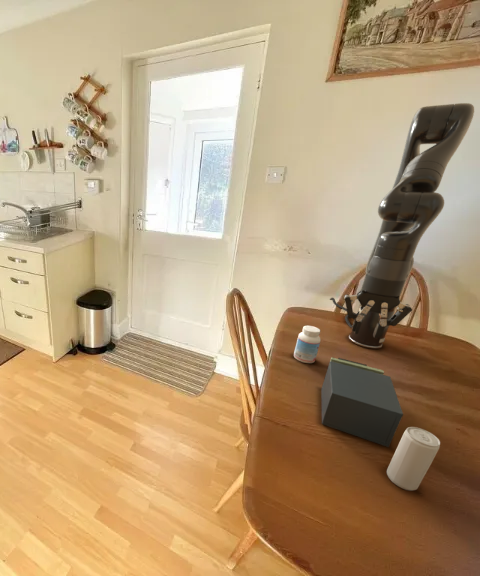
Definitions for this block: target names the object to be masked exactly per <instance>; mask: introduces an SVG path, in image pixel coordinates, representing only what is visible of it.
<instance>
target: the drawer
mask: <svg viewBox="0 0 480 576" xmlns="http://www.w3.org/2000/svg"><path fill="white" fill-rule="evenodd" d="M330 361H332V362H336V363H339V364H343V365H347V366H351V367H355V368H359V369H363V370H367V371H370V372H374V373H378V374H382V375H385V371H384V370H383V369H380V368H376V367H372V366H368V365H367V364H365V363H361V362H357V361H354V360H349V359H346V358H341V357H338V358H335V357H330V359H329V362H330Z"/></svg>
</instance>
